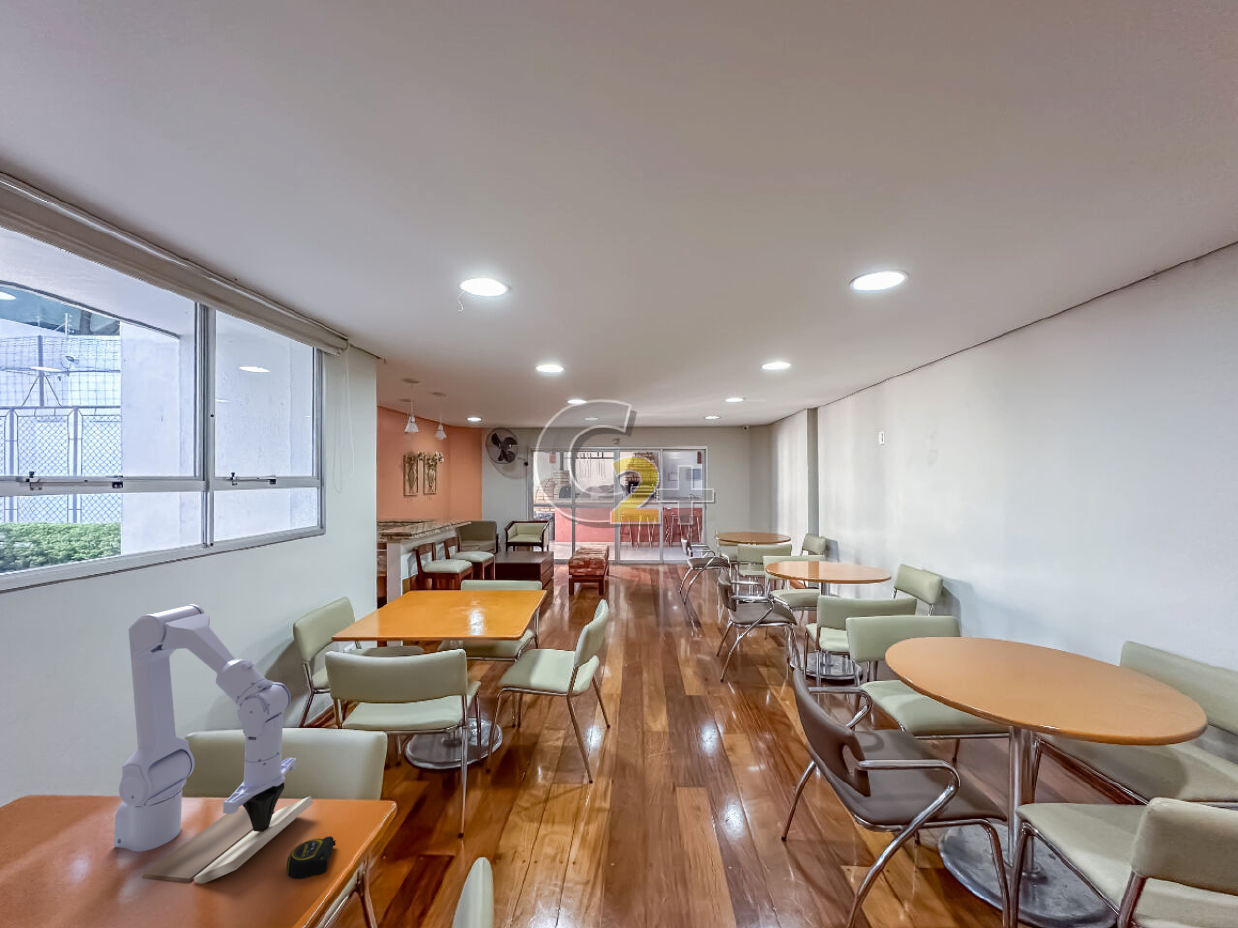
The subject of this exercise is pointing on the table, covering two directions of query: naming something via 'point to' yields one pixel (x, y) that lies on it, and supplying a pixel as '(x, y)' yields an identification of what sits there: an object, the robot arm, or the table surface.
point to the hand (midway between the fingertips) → (261, 828)
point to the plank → (252, 842)
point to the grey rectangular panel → (203, 848)
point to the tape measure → (310, 858)
